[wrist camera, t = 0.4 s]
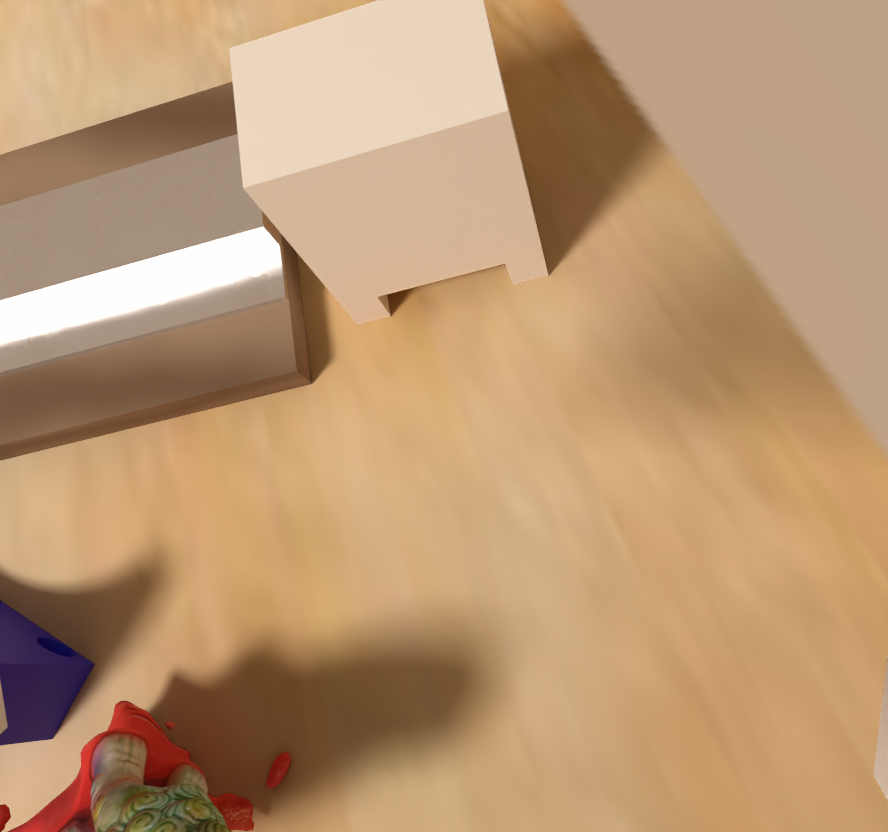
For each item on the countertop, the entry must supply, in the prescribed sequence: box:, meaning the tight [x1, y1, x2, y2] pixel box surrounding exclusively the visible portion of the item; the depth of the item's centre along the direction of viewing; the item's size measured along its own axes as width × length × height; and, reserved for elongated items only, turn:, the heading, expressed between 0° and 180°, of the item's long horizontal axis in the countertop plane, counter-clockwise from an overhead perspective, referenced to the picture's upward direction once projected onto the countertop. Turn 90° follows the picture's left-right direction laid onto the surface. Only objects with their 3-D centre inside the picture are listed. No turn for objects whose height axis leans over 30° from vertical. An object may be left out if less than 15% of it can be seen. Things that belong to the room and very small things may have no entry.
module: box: [229, 0, 548, 325], centre depth 28 cm, size 8×5×10 cm, turn 100°
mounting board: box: [0, 82, 312, 460], centre depth 35 cm, size 14×18×2 cm
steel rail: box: [0, 134, 289, 376], centre depth 34 cm, size 8×18×2 cm, turn 100°
